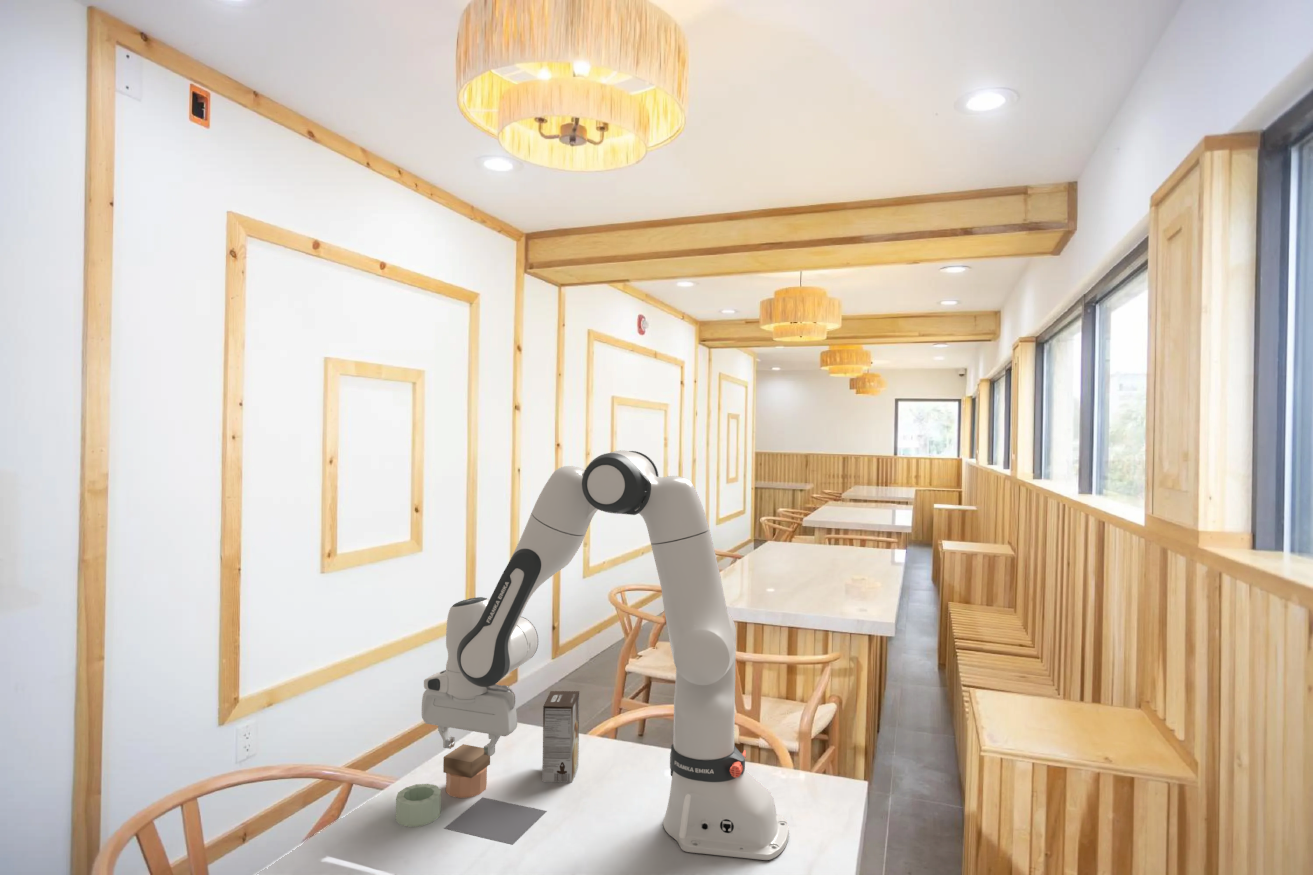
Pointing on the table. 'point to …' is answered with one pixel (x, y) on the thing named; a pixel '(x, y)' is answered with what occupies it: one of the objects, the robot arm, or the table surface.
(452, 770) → the cardboard box
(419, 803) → the bowl sage
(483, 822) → the mat
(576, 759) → the coffee box
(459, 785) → the bowl terracotta
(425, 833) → the table surface
